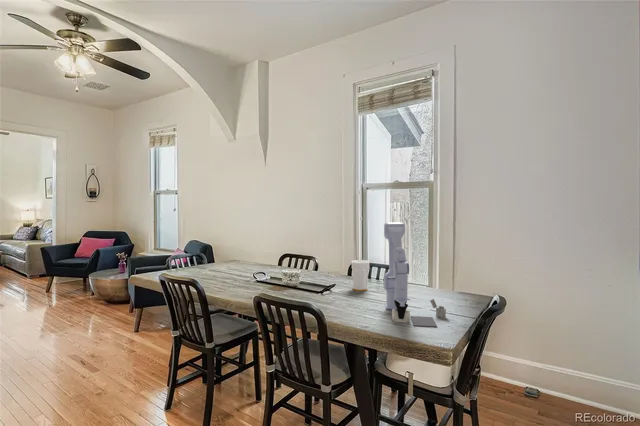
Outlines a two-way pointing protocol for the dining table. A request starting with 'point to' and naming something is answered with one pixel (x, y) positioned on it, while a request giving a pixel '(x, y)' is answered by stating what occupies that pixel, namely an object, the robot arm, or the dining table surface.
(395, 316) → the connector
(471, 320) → the dining table surface
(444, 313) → the lighter
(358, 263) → the cup
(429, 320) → the mat
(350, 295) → the dining table surface
